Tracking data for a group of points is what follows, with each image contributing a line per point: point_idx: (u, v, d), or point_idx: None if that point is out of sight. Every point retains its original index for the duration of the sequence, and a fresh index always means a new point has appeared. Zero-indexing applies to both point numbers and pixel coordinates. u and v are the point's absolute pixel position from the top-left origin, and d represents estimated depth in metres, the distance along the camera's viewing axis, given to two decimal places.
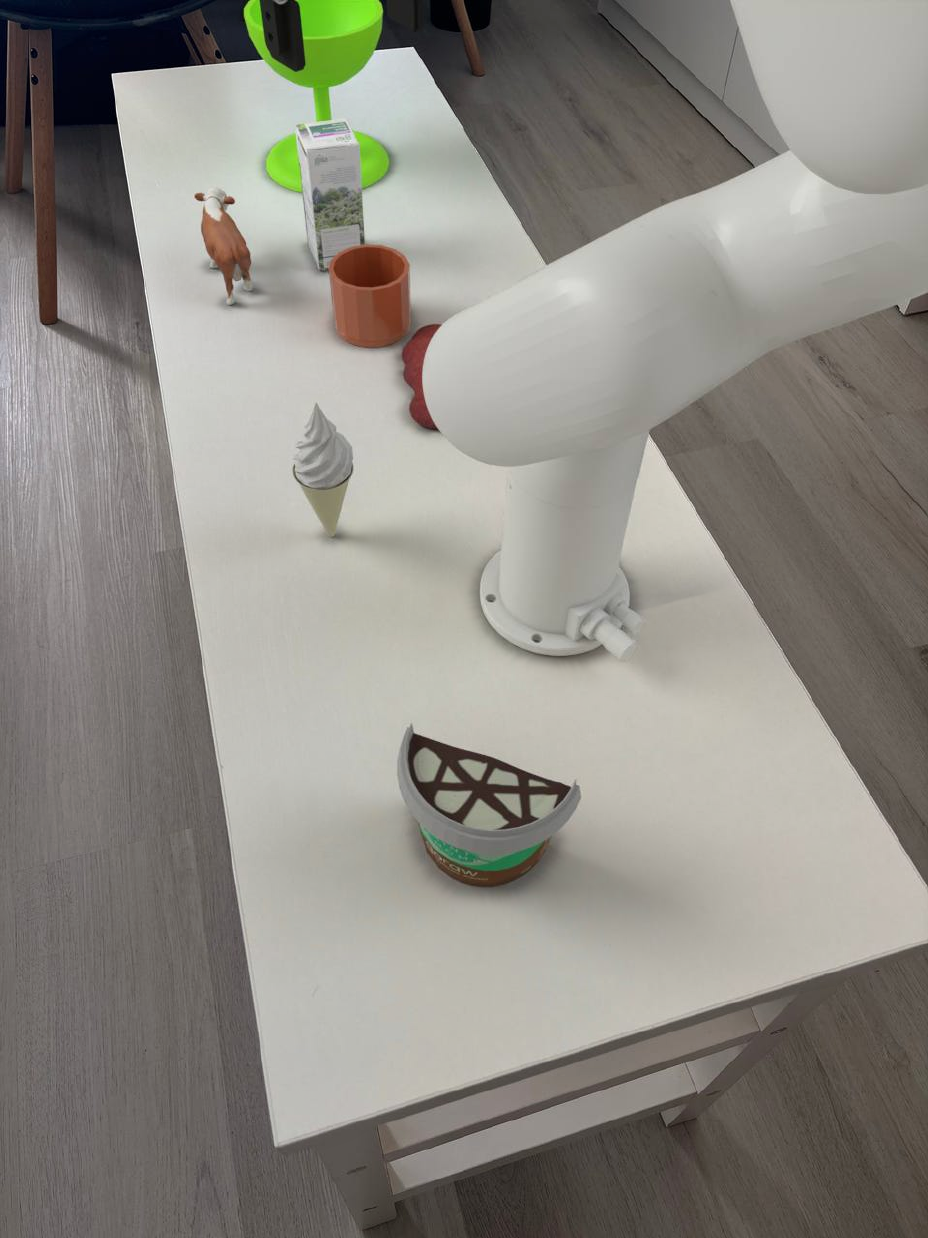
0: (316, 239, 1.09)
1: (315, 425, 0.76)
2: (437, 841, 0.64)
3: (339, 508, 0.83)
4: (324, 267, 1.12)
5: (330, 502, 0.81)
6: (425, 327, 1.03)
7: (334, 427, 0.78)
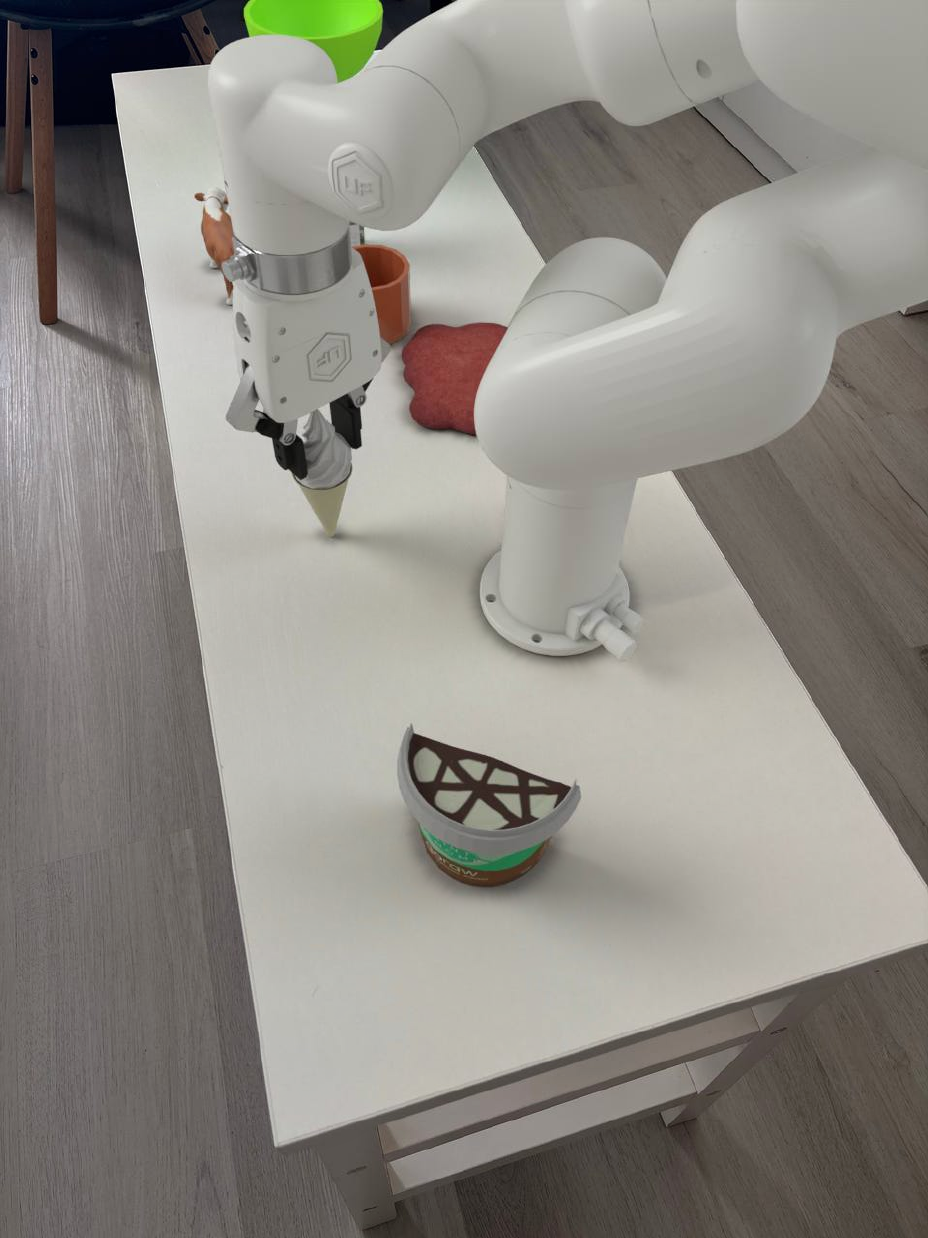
0: None
1: (313, 426, 0.76)
2: (437, 841, 0.64)
3: (338, 508, 0.83)
4: None
5: (330, 503, 0.81)
6: (425, 327, 1.03)
7: (333, 427, 0.77)
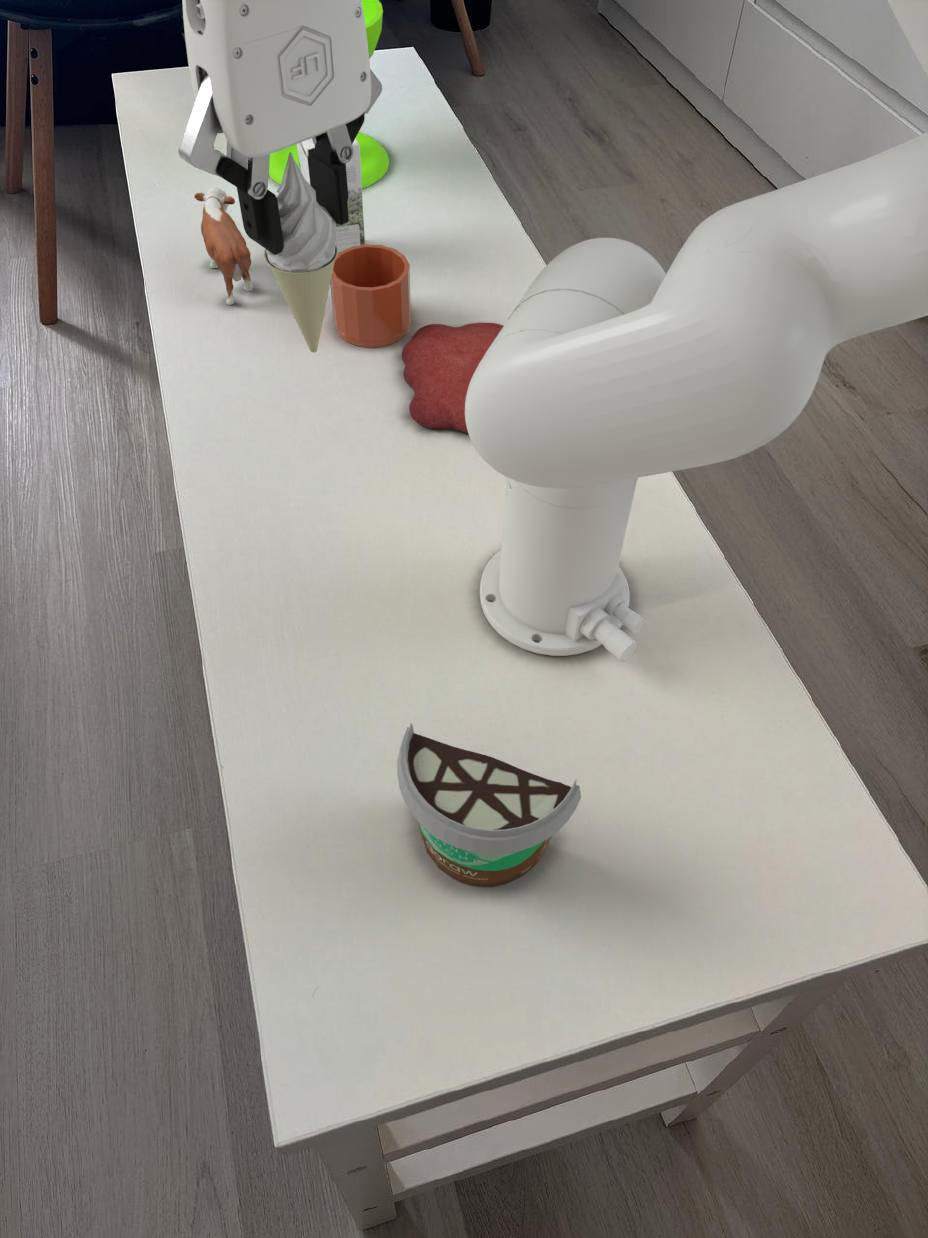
0: None
1: (289, 183, 0.62)
2: (437, 841, 0.64)
3: (322, 307, 0.69)
4: None
5: (311, 296, 0.67)
6: (425, 327, 1.03)
7: (313, 191, 0.64)
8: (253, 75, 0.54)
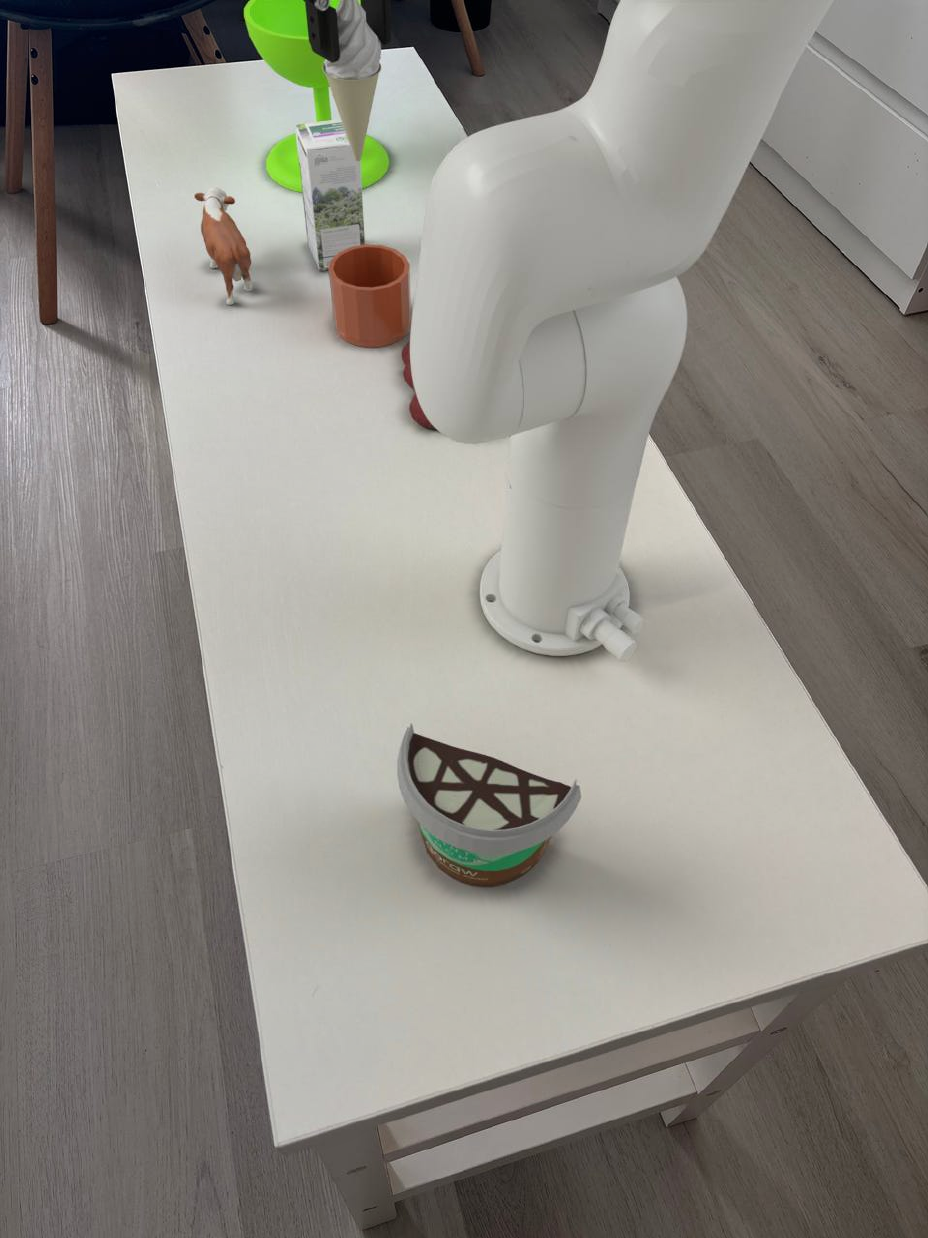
0: (316, 239, 1.09)
1: (346, 3, 0.79)
2: (437, 841, 0.64)
3: (367, 117, 0.86)
4: (324, 267, 1.12)
5: (359, 103, 0.84)
6: None
7: (364, 11, 0.80)
8: None
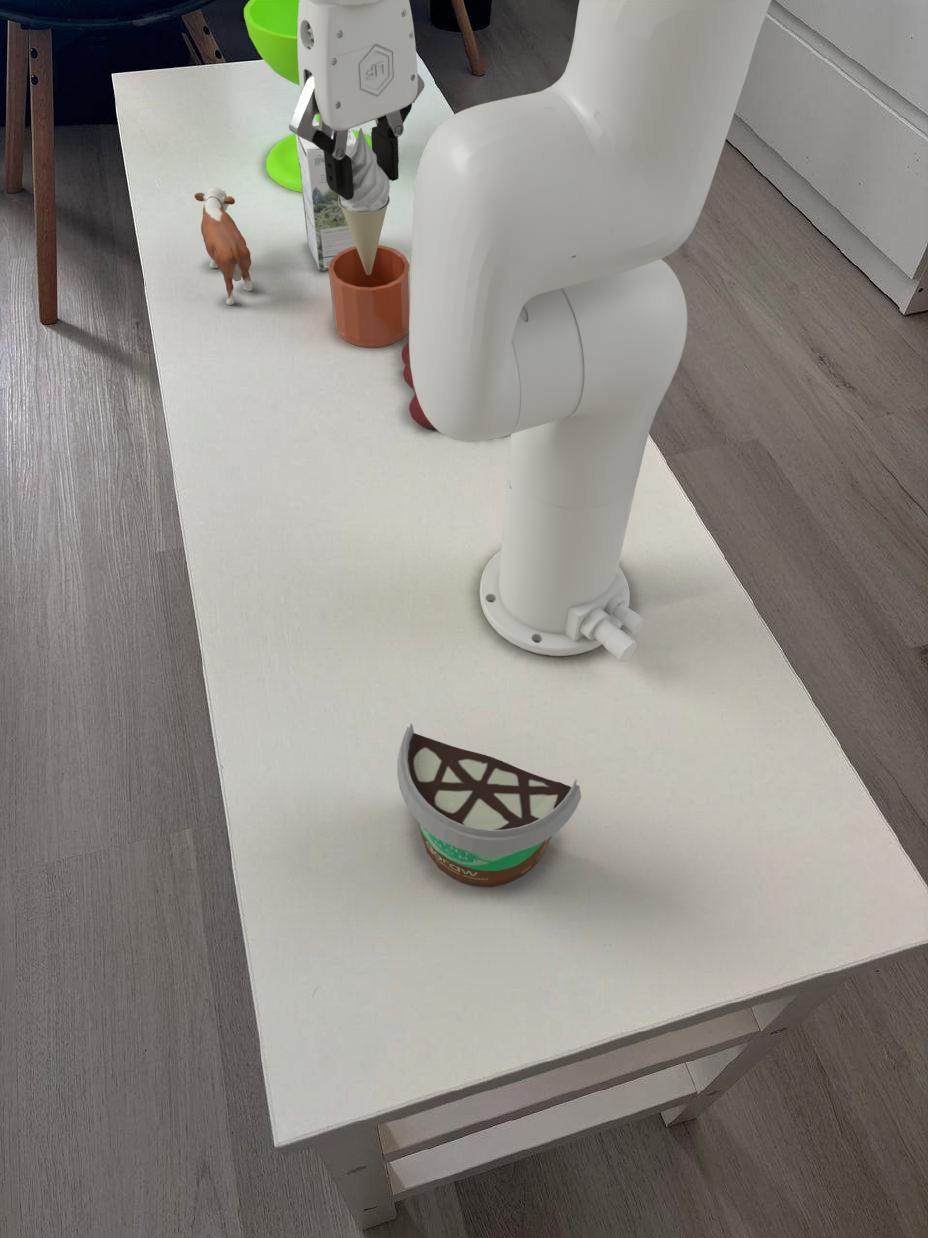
0: (316, 239, 1.09)
1: (359, 149, 0.90)
2: (437, 841, 0.64)
3: (377, 240, 0.97)
4: (324, 267, 1.12)
5: (370, 230, 0.96)
6: None
7: (374, 155, 0.92)
8: (342, 76, 0.82)
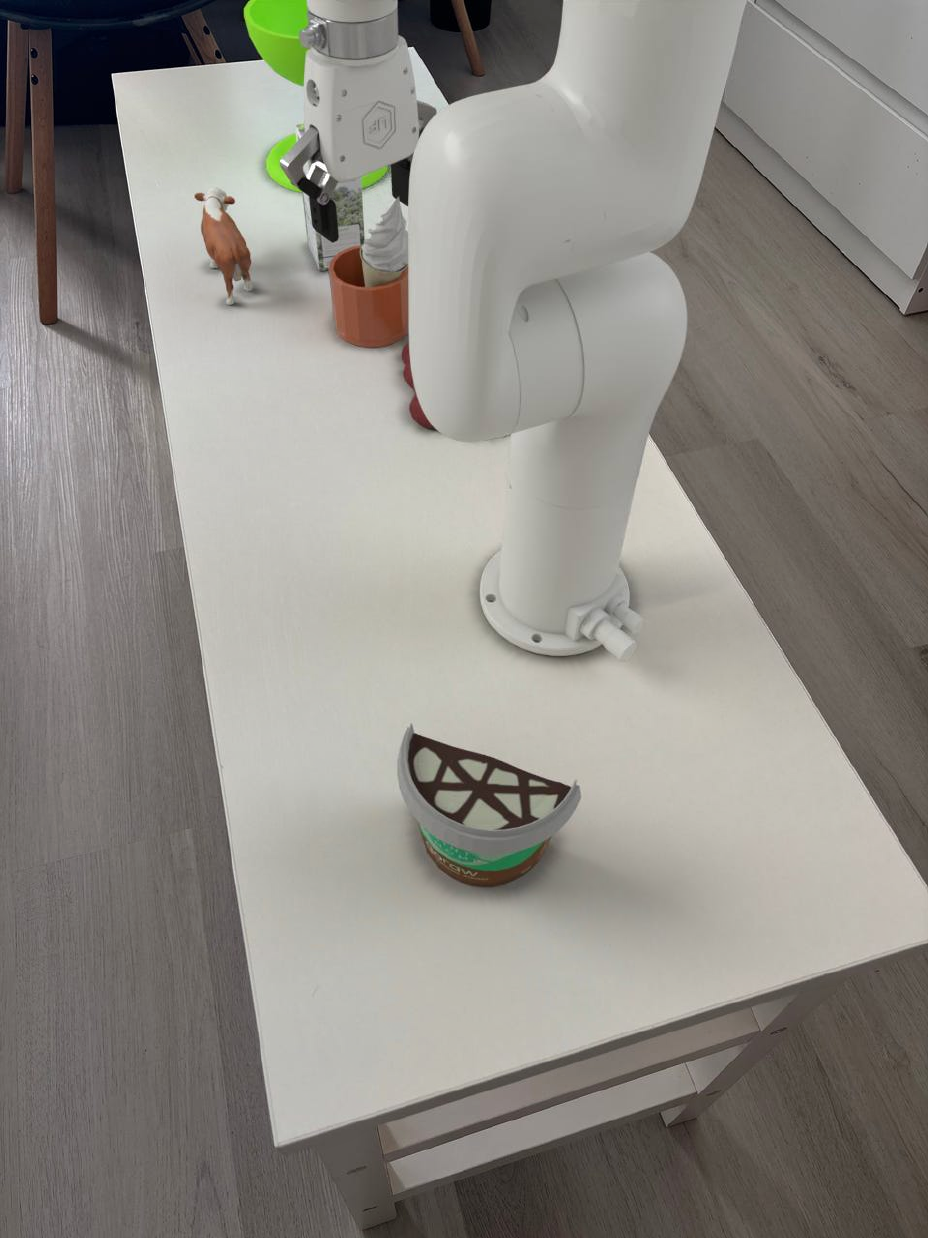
0: (316, 239, 1.09)
1: (392, 215, 0.94)
2: (437, 841, 0.64)
3: None
4: (324, 267, 1.12)
5: None
6: None
7: (404, 221, 0.96)
8: (346, 131, 0.85)
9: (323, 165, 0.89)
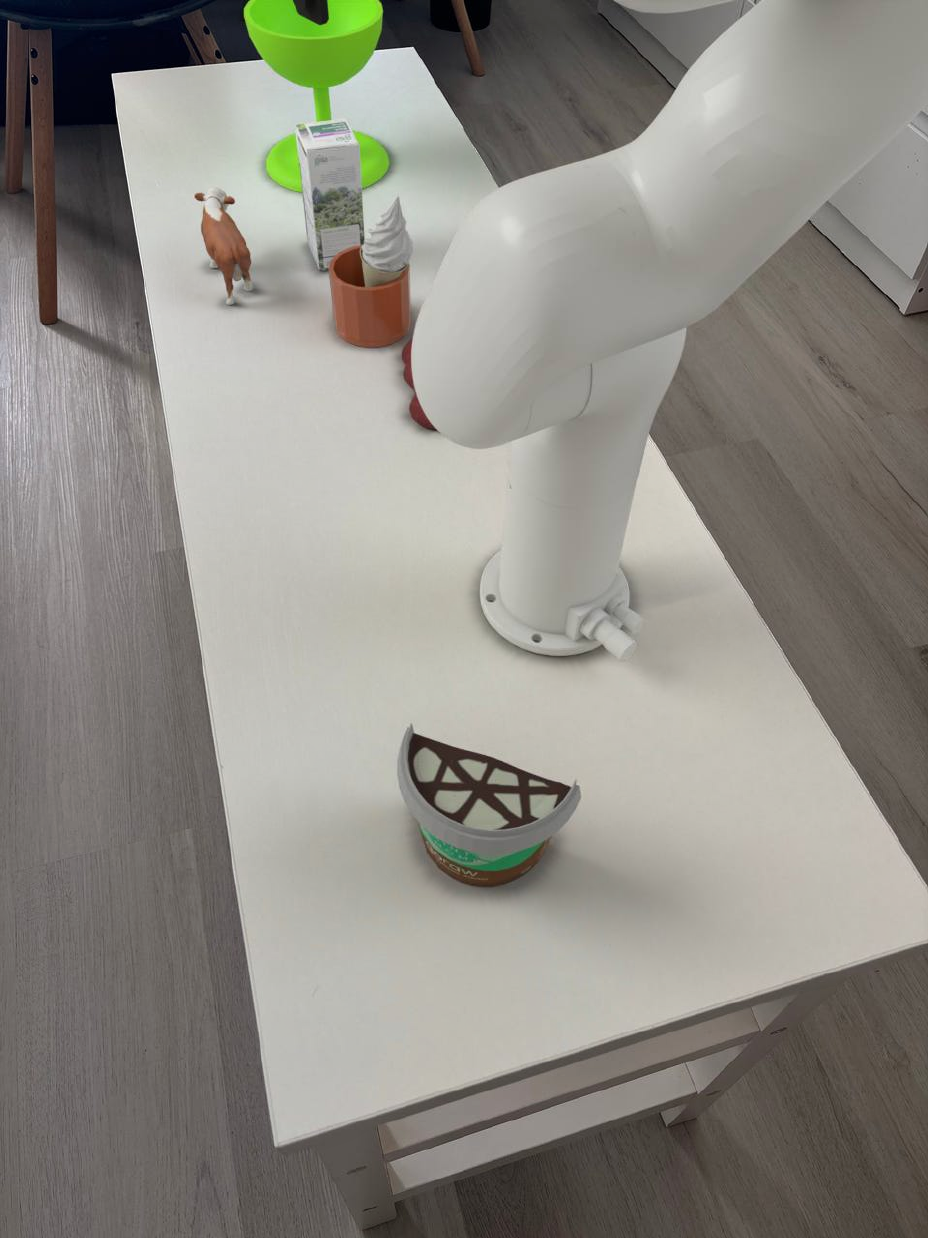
0: (316, 239, 1.09)
1: (392, 215, 0.94)
2: (437, 841, 0.64)
3: None
4: (324, 267, 1.12)
5: None
6: None
7: (404, 221, 0.96)
8: None
9: None
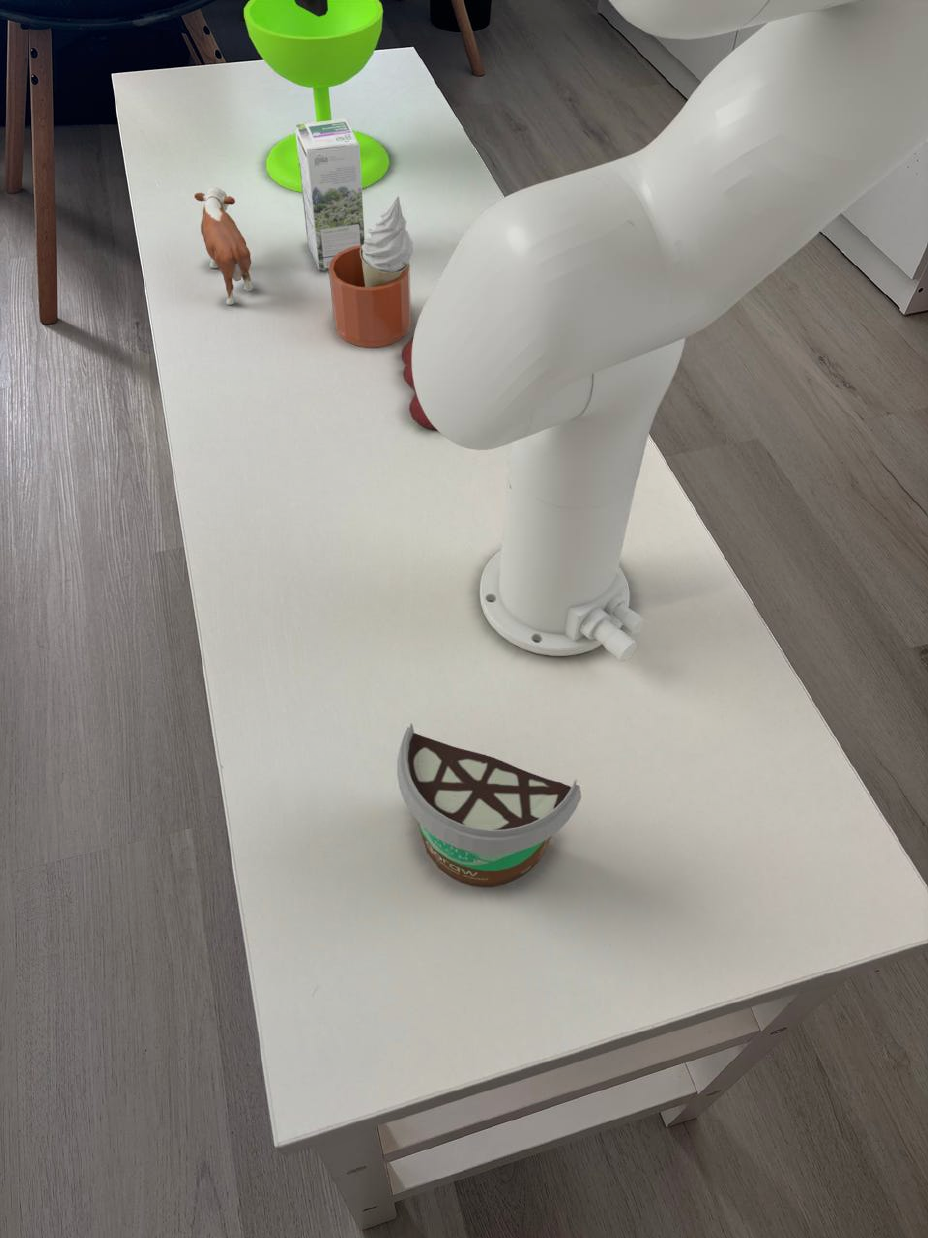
0: (316, 239, 1.09)
1: (392, 215, 0.94)
2: (437, 841, 0.64)
3: None
4: (324, 267, 1.12)
5: None
6: None
7: (404, 221, 0.96)
8: None
9: None
